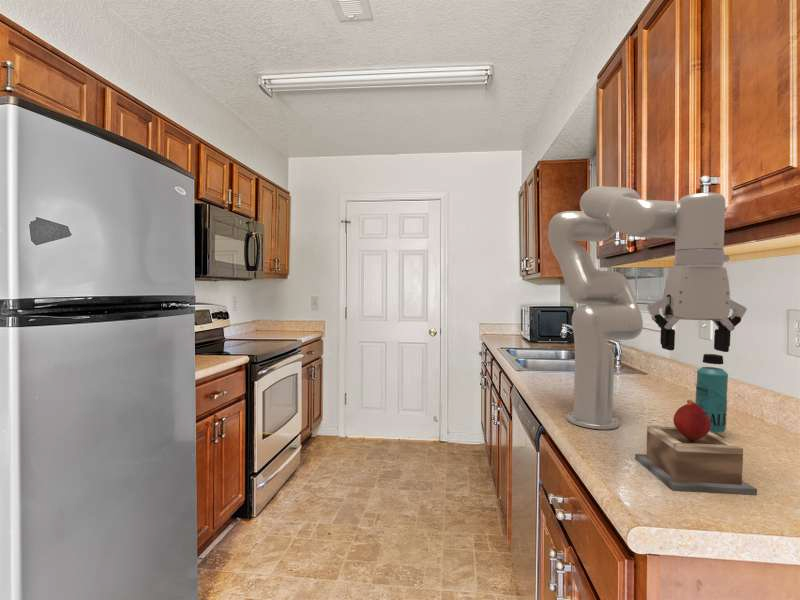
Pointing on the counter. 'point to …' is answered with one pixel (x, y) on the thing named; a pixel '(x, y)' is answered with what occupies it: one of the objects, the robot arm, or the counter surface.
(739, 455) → the open square box
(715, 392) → the beverage bottle
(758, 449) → the counter surface
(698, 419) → the pomegranate
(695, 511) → the counter surface
